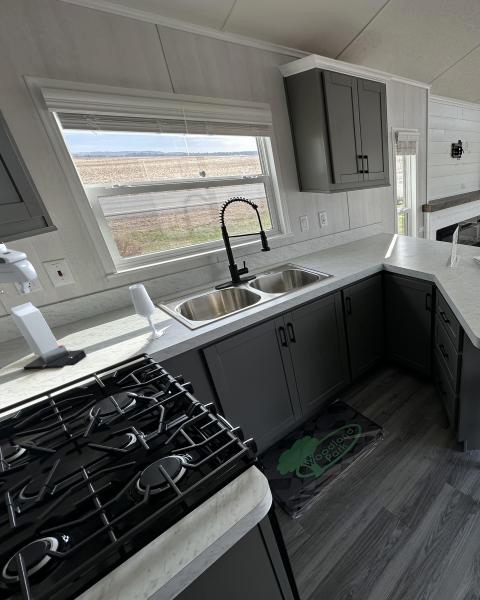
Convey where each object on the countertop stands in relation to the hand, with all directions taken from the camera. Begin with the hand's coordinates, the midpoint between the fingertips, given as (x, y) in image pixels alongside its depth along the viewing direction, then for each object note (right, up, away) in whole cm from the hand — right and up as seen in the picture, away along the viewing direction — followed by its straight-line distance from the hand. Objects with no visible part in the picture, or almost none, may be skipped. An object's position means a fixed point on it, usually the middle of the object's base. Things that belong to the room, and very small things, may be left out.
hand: (12, 293), depth 119 cm
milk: (-6, -24, +17) cm, 30 cm away
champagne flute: (+32, -19, +27) cm, 46 cm away
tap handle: (+8, -25, +8) cm, 27 cm away
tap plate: (+7, -28, +9) cm, 30 cm away
